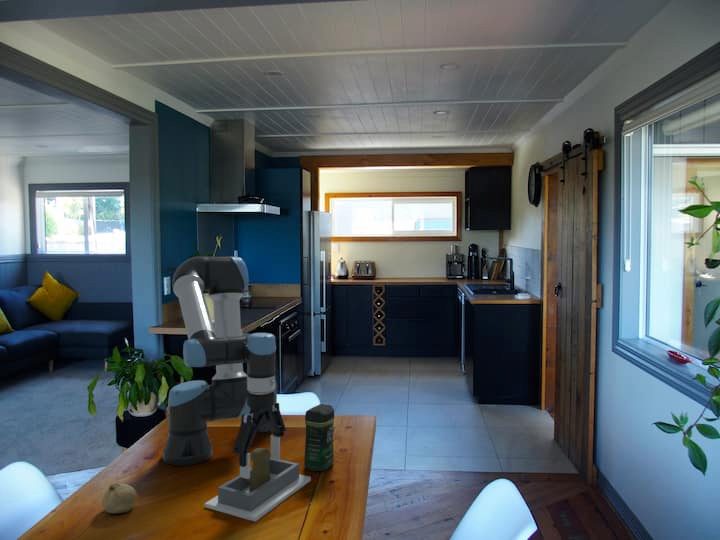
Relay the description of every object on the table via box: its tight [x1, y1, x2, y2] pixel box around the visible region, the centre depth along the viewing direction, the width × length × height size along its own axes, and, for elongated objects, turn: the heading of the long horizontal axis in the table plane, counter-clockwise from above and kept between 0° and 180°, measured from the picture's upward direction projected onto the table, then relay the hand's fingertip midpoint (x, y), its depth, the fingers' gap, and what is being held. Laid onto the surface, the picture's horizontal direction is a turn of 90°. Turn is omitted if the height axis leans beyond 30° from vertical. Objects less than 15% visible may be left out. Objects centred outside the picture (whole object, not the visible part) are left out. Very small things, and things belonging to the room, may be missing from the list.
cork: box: [250, 447, 271, 492], centre depth 144 cm, size 6×6×11 cm
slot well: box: [204, 456, 312, 523], centre depth 144 cm, size 26×16×5 cm, turn 154°
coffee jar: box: [303, 403, 335, 472], centre depth 162 cm, size 10×8×19 cm
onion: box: [101, 482, 138, 515], centre depth 134 cm, size 8×8×7 cm
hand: (260, 468), depth 144 cm, fingers open, 13 cm apart
